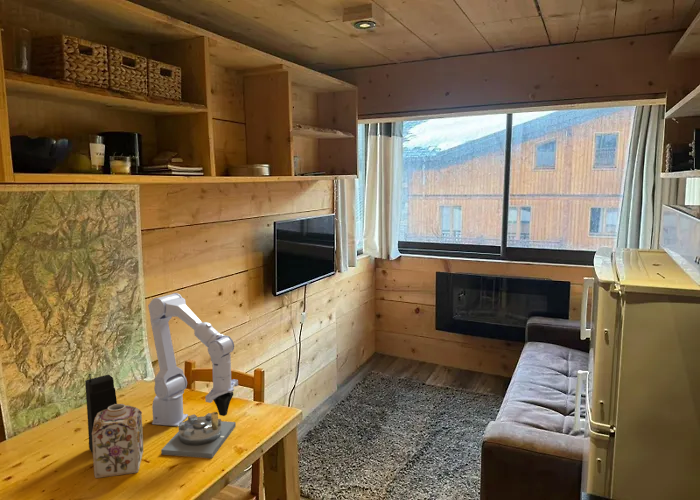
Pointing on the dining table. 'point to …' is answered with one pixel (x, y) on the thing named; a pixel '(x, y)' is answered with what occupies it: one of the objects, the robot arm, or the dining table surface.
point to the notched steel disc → (200, 429)
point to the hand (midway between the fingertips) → (223, 414)
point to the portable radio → (98, 399)
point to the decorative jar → (117, 441)
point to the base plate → (202, 450)
